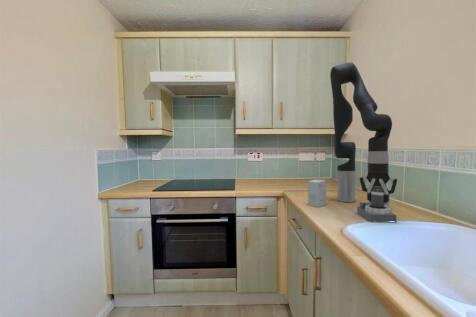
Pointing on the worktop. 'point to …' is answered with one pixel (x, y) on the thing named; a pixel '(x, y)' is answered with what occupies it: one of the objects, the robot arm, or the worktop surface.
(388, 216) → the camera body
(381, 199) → the lens
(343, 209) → the worktop surface
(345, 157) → the robot arm
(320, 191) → the small box
